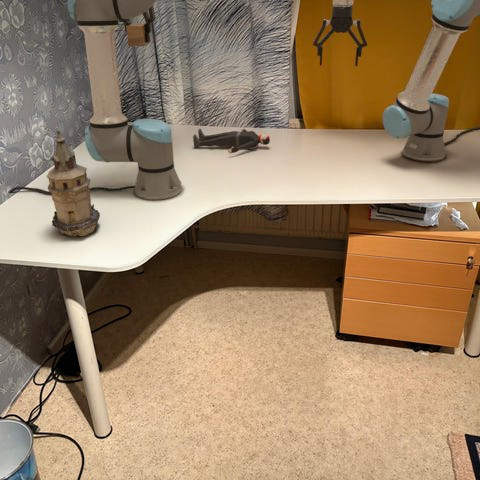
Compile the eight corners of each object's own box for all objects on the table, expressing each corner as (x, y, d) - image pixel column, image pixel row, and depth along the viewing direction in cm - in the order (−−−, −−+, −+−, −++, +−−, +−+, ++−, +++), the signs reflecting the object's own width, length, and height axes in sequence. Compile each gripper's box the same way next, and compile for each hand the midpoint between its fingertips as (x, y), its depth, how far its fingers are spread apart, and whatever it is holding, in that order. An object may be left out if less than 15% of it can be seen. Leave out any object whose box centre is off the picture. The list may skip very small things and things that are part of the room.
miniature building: (80, 214, 164) (63, 117, 149) (111, 225, 157) (96, 125, 142) (44, 231, 154) (22, 130, 140) (75, 244, 147) (55, 139, 133)
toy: (204, 122, 226) (274, 122, 220) (205, 136, 229) (274, 137, 223) (186, 142, 204) (264, 143, 198) (188, 157, 207) (264, 159, 201)
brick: (143, 46, 201) (141, 26, 197) (128, 46, 202) (125, 25, 198) (151, 42, 208) (149, 22, 205) (136, 42, 209) (133, 22, 205)
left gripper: (161, -27, 195) (166, 40, 206) (111, -27, 197) (119, 39, 209) (154, -26, 188) (160, 43, 200) (103, -25, 191) (111, 43, 202)
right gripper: (376, 4, 199) (370, 63, 209) (309, 4, 202) (306, 62, 213) (378, 6, 192) (371, 67, 203) (308, 6, 196) (305, 66, 206)
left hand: (139, 41), depth 204 cm, fingers closed on brick, 6 cm apart
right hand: (338, 65), depth 208 cm, fingers open, 13 cm apart
